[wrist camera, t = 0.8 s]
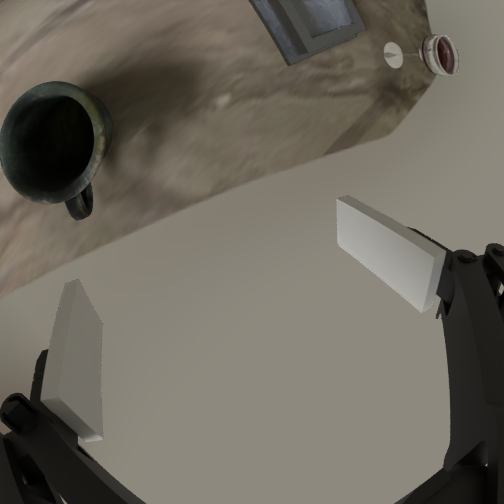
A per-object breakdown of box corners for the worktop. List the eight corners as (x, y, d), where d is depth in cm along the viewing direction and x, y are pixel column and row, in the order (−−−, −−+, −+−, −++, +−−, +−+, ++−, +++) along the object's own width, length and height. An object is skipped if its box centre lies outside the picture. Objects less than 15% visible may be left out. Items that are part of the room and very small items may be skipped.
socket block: (242, -10, 28) (255, -22, 24) (314, -31, 29) (333, -41, 24) (287, 65, 35) (306, 62, 31) (352, 37, 36) (373, 34, 32)
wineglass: (411, 65, 41) (464, 68, 31) (390, 78, 41) (445, 83, 31) (396, 32, 37) (450, 29, 27) (374, 44, 37) (430, 40, 27)
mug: (105, 76, 29) (90, 62, 19) (132, 183, 36) (130, 214, 26) (28, 108, 26) (-13, 112, 16) (59, 211, 34) (33, 251, 24)
